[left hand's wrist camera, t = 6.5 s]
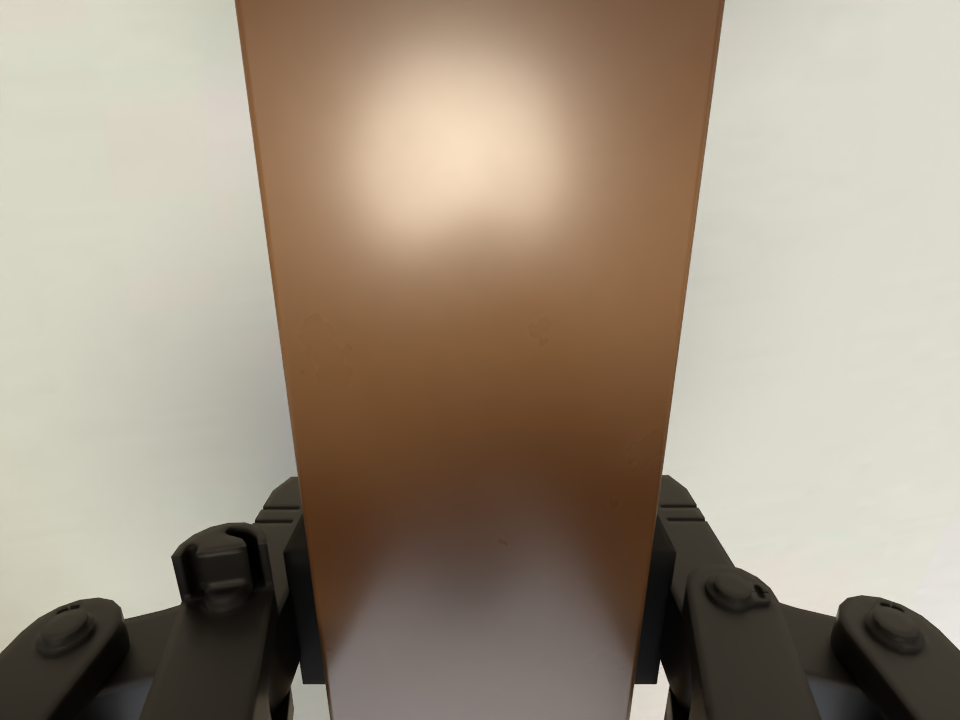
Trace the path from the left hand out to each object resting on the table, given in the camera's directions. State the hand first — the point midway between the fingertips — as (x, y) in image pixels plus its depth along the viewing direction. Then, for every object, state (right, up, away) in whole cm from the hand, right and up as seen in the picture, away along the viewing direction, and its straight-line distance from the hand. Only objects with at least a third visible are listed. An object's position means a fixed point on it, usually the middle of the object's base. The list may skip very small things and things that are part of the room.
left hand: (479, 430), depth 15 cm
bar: (0, +7, -2) cm, 8 cm away
